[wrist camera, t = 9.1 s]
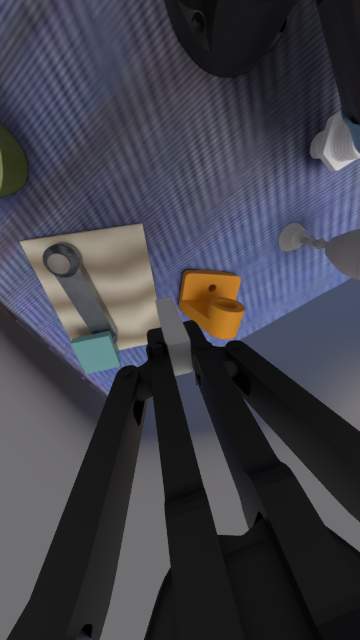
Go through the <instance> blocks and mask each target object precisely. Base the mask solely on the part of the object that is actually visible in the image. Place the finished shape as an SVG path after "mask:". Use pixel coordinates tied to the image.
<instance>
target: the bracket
mask: <svg viewBox="0 0 360 640" xmlns="http://www.w3.org/2000/svg"><path fill="white" fill-rule="evenodd" d="M240 283H241V278H240V277H239V276H237V275H236V274H234V273H225V272H224V271H211V270H198V269H196V270H186V271H185V272H184V273H183V278H182V285H181V292H180V299H179V308H180V311H182V312H183V313H184V314H185V315H187V316H188V317H189V318H190V319H192V320H193V321H195V322H196V323H197V324H198V325H199V326H200V327H201V328H203V329H204V330H205V331H206V332H208V333H209V334H210V335H212V336H214V337H217V338H221V339H231V338H234V337H235V336H236V334H237V331H238V328H239V325H240V322H241V319H242V316H243V313H244V310H245V307H244V306H243V305H242V304H241V303H240V302H238V301H235V300H236V296H237V293H238V290H239V286H240Z"/></svg>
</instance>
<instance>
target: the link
mask: <svg viewBox="0 0 360 640" xmlns="http://www.w3.org/2000/svg"><path fill="white" fill-rule="evenodd" d="M54 253H62V254H64V255H66V256H67V257H68V258H69V259H70V261H71V268H70V269H69V270H68V272H66V273H64V274H58V273H55V272H53V271H52V270H51V269H50V268H49V266H48V264H47V260H48V258H49V257H50V256H51V255H52V254H54ZM43 263H44V265H45V267H46V269H47V270H48V271H49V272H50V273H52V274H53V275H55V277H56V278H57V280H58V282H59V283H60V285H61V286H62V288H63V289H64V291H65V292H66V294H67V296H68V297H69V299H70V300H71V302H72V303H73V305H74V306H75V308H76V310H77V311H78V313H79V314H80V316H81V317H82V319H83V321H84V322H85V324H86V325H87V327H88V328H89V330H90V331H91V333H92V334H96V333H101V332H106V331H110V334H111V336H112V339H113V342H114V344H115V343H116V342H117V336H118V329H117V327H116V325H115V323H114V321H113V319H112V317H111V316H110V314H109V312H108V310H107V308H106V306H105V304H104V303H103V301H102V299H101V297H100V295H99V293H98V291H97V289H96V288H95V286H94V284H93V282H92V280H91V278H90V276H89V275H88V273H87V271H86V269H85V267H84V265H83V263H82V255H81V253H80V252H79V250H78V249H77V248H76V247H75V246H73V245H71V244H69V243H65V242H59V243H56V244H54V245H52V246H50V247H48V248H47V249H46V250H45V251H44V253H43Z"/></svg>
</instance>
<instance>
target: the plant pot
mask: <svg viewBox="0 0 360 640" xmlns="http://www.w3.org/2000/svg"><path fill="white" fill-rule="evenodd" d="M27 178H28V164H27V160H26V157H25V154H24V152H23V150H22V148H21V147H20V145H19V144H18V142H17V141H16V139H15V138H14V137H13V136H12V134H11V133H10V132H9V131H8V130H7V129H6V128H5V127H4V126H2V125H1V124H0V198H1V197H3V196H6V195H9V194H12V193H15V192H17V191H18V190H20V189H21V188H22V187H23V186H24V185H25V183H26V181H27Z"/></svg>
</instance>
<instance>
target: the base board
mask: <svg viewBox="0 0 360 640" xmlns="http://www.w3.org/2000/svg"><path fill="white" fill-rule="evenodd" d="M59 242H65V243H69V244H71V245H73V246H75V247H76V248H77V249H78V250H79V252H80V253H81V255H82V263H83V265H84V267H85V269H86V271H87V273H88V275H89V276H90V278H91V280H92V282H93V284H94V286H95V288H96V289H97V291H98V293H99V295H100V297H101V299H102V301H103V303H104V304H105V306H106V308H107V310H108V312H109V314H110V316H111V317H112V319H113V321H114V323H115V325H116V327H117V329H118V336H117V342H116V344H117V347H118V349H119V350H122V349H127V348H131V347H136V346H140V345H145V344H148V342H147V335H146V334H147V332H148V330H150V329H155V328H159V327H160V323H159V318H158V313H157V308H156V303H155V300H157V297H156V292H155V287H154V282H153V276H152V271H151V266H150V261H149V256H148V251H147V245H146V240H145V235H144V230H143V225H142V223H139V224H132V225H125V226H118V227H111V228H104V229H97V230H90V231H83V232H76V233H69V234H62V235H55V236H48V237H41V238H34V239H28V240H23V241H20V244H21V245H22V247H23V249H24V251H25V253H26V255H27V257H28V259H29V261H30V263H31V265H32V267H33V268H34V270H35V272H36V274H37V276H38V278H39V280H40V282H41V284H42V286H43V288H44V290H45V291H46V293H47V295H48V297H49V299H50V301H51V303H52V305H53V307H54V309H55V311H56V313H57V314H58V316H59V318H60V320H61V322H62V324H63V326H64V328H65V330H66V332H67V334H68V335H69V337H70V339H71V341H72V339H73V338H77V337H82V336H87V335H91V334H92V333H91V331H90V330H89V328H88V327H87V325H86V324H85V322H84V321H83V319H82V317H81V316H80V314H79V313H78V311H77V310H76V308H75V306H74V305H73V303H72V302H71V300H70V299H69V297H68V296H67V294H66V292H65V291H64V289H63V288H62V286H61V285H60V283H59V282H58V280H57V278H56V277H55V275H53V274H52V273H50V272H49V271H48V270H47V269H46V267H45V265H44V263H43V253H44V251H45V250H46V249H47V248H48V247H50V246H52V245H54V244H56V243H59ZM47 264H48V266H49V268H50V269H51V270H52V271H53V272H55V273H58V274H64V273H66V272H68V270H69V269H70V268H71V261H70V259H69V258H68V257H67V256H66V255H64V254H62V253H54V254H52V255H51V256H50V257H49V258H48V260H47Z"/></svg>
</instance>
